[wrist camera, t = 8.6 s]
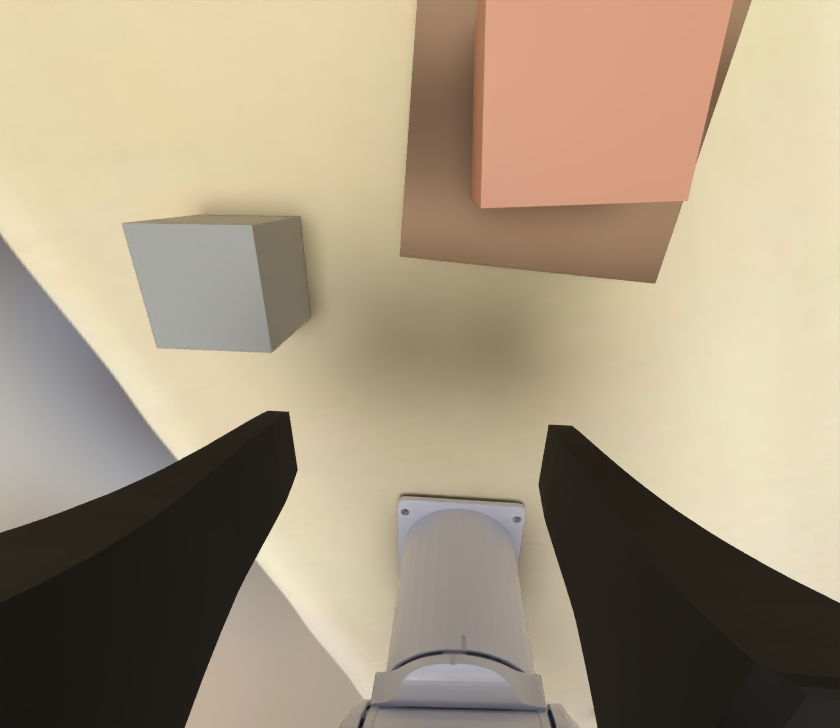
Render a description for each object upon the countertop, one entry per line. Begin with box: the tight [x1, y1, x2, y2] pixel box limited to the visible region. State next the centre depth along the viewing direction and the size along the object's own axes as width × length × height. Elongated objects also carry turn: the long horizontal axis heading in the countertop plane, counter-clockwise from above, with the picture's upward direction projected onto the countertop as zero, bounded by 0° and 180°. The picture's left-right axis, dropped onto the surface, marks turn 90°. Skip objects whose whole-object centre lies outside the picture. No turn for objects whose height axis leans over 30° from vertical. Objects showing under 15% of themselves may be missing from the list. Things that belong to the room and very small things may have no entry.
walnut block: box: [400, 0, 752, 283], centre depth 15 cm, size 10×10×4 cm
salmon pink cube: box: [472, 0, 733, 208], centre depth 11 cm, size 5×5×5 cm
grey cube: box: [122, 215, 311, 353], centre depth 18 cm, size 5×5×5 cm
